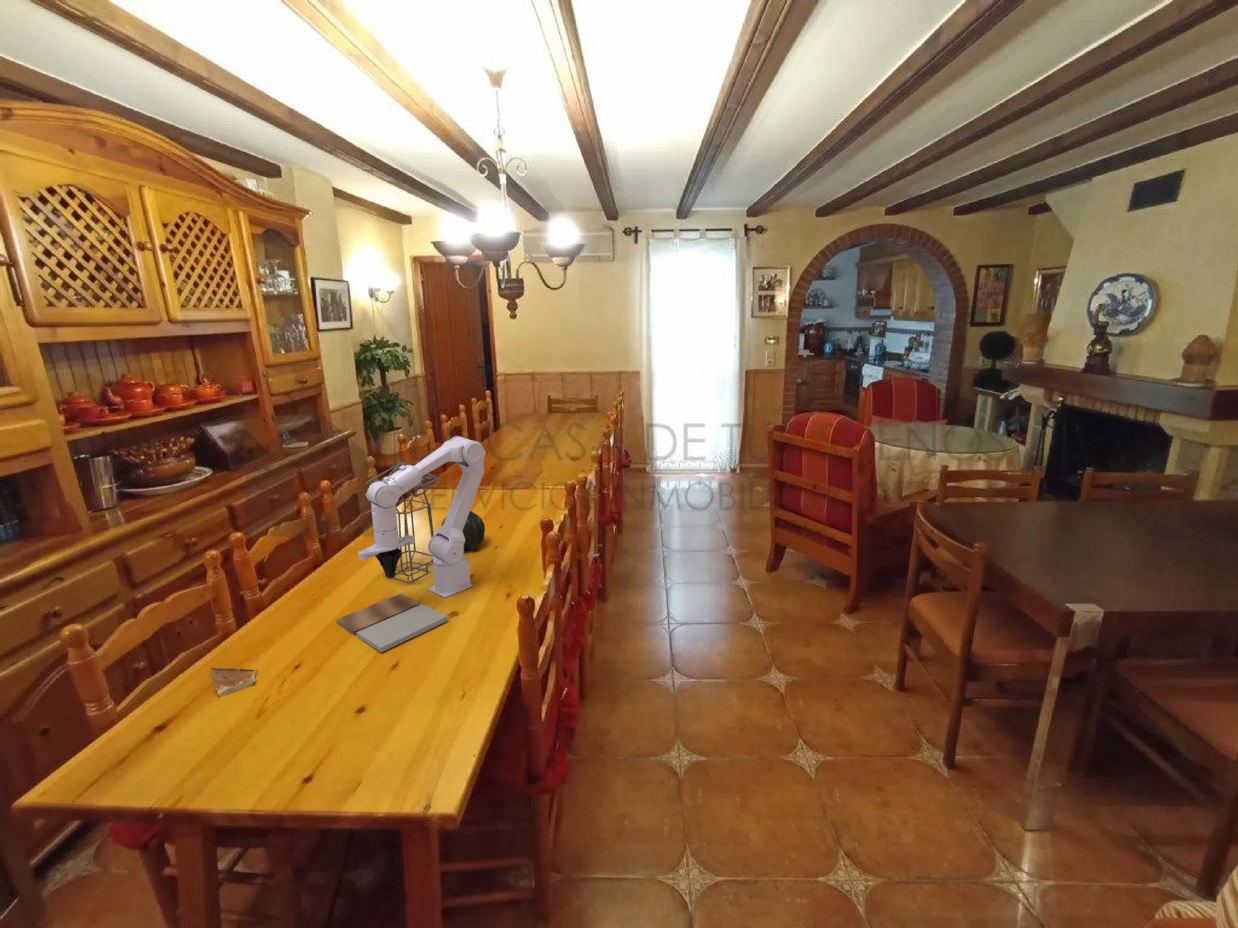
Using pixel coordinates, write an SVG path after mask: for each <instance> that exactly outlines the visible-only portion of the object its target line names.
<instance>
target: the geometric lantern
mask: <svg viewBox="0 0 1238 928" xmlns="http://www.w3.org/2000/svg"><path fill="white" fill-rule="evenodd" d="M402 465H403V466H406V465H411V466H414V465H413V464H411V463H409V462H407V461H406V462H404V461H399V462H398V463H397V464H394V465H393V466H392V467H389V469H387V470H385V471H382V472H381V473H379V474H378V475H376V476H374V477H372V478H370V479H368V480H367V481H366V483H365V485H368V486H370V485H371V484H373V483H374V482H377V481H379V482H380V481H382V482H383V479H378V478H380V477H381V476H383V475H384V474H385V475H386V474H387V473H388V472H390V473H388V474H387V476H386V477H389V476H390V475H392V474H394V473H395V472H397V471H398V470H400V469H399V467H401V466H402ZM425 475H426V476H427V477H426V476H425ZM425 475H424V476H422V479H421V483H419V484H418V485H416V486H415V487H413V488H412V489H413V490H414V493H413V492H412V491H411V490H409V491H407V492H408V493H409V494H410V495H411V498H410V499H405V497H403V495H401V496H400V497H401V498H402V499H400V500H398V502H397V503H398V504H399V503H400V502H403V508H404V509H403V511H401V512H400V511H399V508H397V506H396V515H397V524H398V537H402V529H401V528H402V527H401V515H403V518H404V520H403V521H404V526H403V527H404V537H405V536H409V535H410V534H409V528H408V526H409V525H408V517H407V515H408V514H410V517H411V520H410V521H411V529H412V533H411V534H412V536H413V537H414V540H415V541H416V538H415V535H416V534H415V526H414V514H413V513H414V512H418V511H421V510H424V509H426V510H427V516H428V523H429V531H430V539H431V538H432V537H433V536H434V534H435V532H434V524H433V517H432V508H431V507H432V506H431V505H432V503H429V501H428V498H427V497H428V496H427V491H428V490H429V489H431V488H432V487H433V486H434V485H435V484H436V483H437V482H438V481H440V480H441V478H440V477H438V476H437V475H435V474H432V473H430V472H429V473H427V474H425ZM432 479H433V480H432ZM429 480H430V481H429ZM423 482H426V483H423ZM419 488H422V489H423V491H422V492H420V493H418V491H419ZM407 492H406V493H407ZM422 495H423V497H424V499H425V502H424V501H419V500H416V499H415V500H414V498H418V497H420V496H422ZM407 502H408V503H407ZM412 502H414V503H418V504H419V503H420V504H425V505H426V506H423V507H420V508H418V509H415V510H413V503H412ZM397 503H396V504H397ZM409 506H410V511H408V512H407V509H408V507H409ZM399 550H401V551H402V555H401V557H400V558H399V561H400V565H397V567H396V571H395V576H396V575H401V576H405V577H407V580H404V579H399V578H395V577H393V578H390V579H392V580H395V581H400V582H404V583H406V584H411V583H414V582H415V581H417V580H419V579H420V578H422V577H425V576H427V575H429V573H430V572H429V568H430V567H431V566H433V554H431V553H426V552H423V551H418V550H417V549H416V542H415V543H414V544H413V550H411V544H408V545H405V546H404V551H403V546H402V547H399ZM415 553H416V554H419V555H423V556H424V555H425V556H428V557H431V560H430V561H428V562H426V563H419V562H415V561H413V559H414V556H415ZM403 555H405V559H406V562H403ZM408 558H409V560H408ZM408 564H409V566H408ZM413 564H415V565H418V566H416V567H414V566H413ZM379 565H380V566H381V564H380V563H379ZM404 565H406V567H405V568H403V566H404ZM424 566H425V567H424ZM423 567H424V568H423ZM398 568H400V569H398ZM415 570H417V571H415ZM413 571H415V572H413ZM407 572H410V574H407ZM420 572H425V573H424V574H422V575H420V576H418V577H416V578H415V579H414V575H415V574H418V573H420ZM410 577H411V580H410Z"/></svg>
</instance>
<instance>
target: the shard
mask: <svg viewBox="0 0 1238 928" xmlns="http://www.w3.org/2000/svg"><path fill="white" fill-rule="evenodd" d="M210 672H211V675H212V680H213V685H214V689H215V691H216V693H217V695H218V697H219V698H220V697H223V696H225V695H226V696H227V695H229V694H231V693H235V692H236V691H240V690H243V689H247V688H250V687H252V686H253V685H254V684H255V682H256V676H257V675H258V670H257V669H244V668H217V667H211V668H210Z"/></svg>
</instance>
